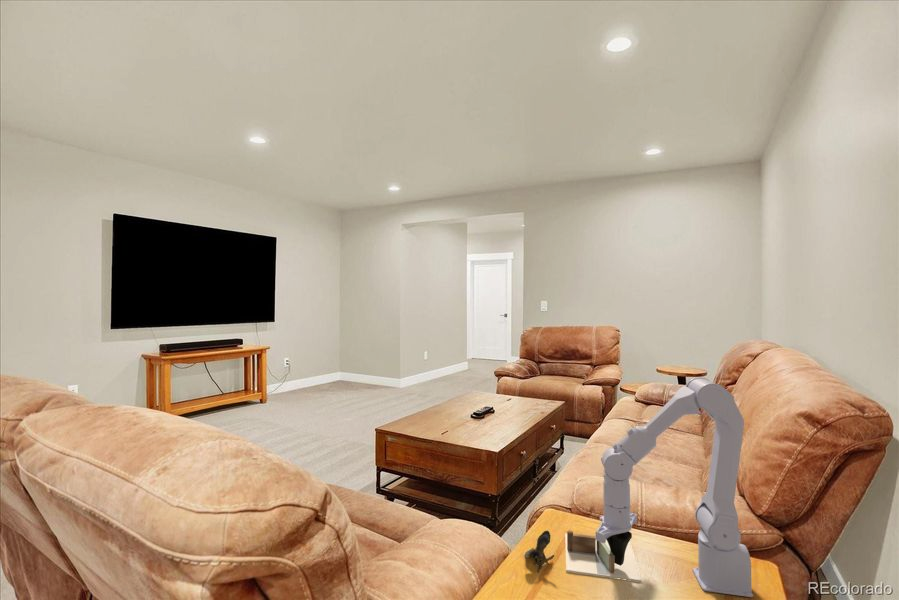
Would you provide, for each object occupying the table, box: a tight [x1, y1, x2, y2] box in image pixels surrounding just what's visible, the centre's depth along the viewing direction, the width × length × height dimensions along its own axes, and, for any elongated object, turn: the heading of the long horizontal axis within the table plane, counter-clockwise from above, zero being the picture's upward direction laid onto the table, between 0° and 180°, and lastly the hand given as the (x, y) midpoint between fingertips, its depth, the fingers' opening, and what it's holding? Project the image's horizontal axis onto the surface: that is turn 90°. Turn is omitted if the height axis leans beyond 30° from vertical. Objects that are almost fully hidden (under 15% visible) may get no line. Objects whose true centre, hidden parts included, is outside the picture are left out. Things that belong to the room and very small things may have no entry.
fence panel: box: [599, 542, 615, 573], centre depth 103 cm, size 7×1×4 cm, turn 1°
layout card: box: [564, 532, 643, 583], centre depth 107 cm, size 16×17×1 cm
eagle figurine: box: [524, 530, 555, 573], centre depth 105 cm, size 8×7×9 cm
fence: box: [566, 530, 599, 555], centre depth 108 cm, size 8×1×4 cm, turn 76°
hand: (617, 563), depth 102 cm, fingers closed
